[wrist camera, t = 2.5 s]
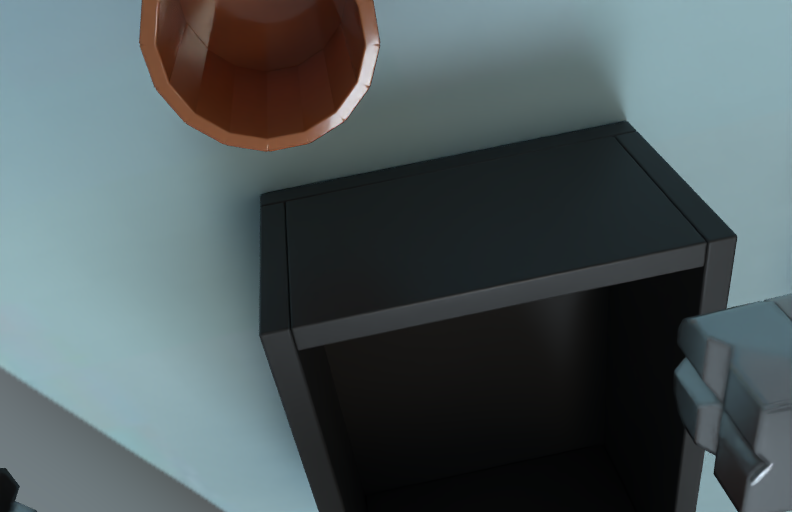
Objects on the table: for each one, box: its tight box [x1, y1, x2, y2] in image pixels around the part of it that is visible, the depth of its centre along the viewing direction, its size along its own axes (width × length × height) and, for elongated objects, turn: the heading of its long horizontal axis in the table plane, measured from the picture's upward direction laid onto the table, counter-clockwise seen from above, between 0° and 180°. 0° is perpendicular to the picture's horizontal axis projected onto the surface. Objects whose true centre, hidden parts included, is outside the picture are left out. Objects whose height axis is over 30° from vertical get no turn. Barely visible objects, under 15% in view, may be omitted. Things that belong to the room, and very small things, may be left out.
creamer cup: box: [139, 0, 380, 152], centre depth 21 cm, size 6×6×6 cm
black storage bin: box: [259, 121, 737, 512], centre depth 29 cm, size 18×14×8 cm
